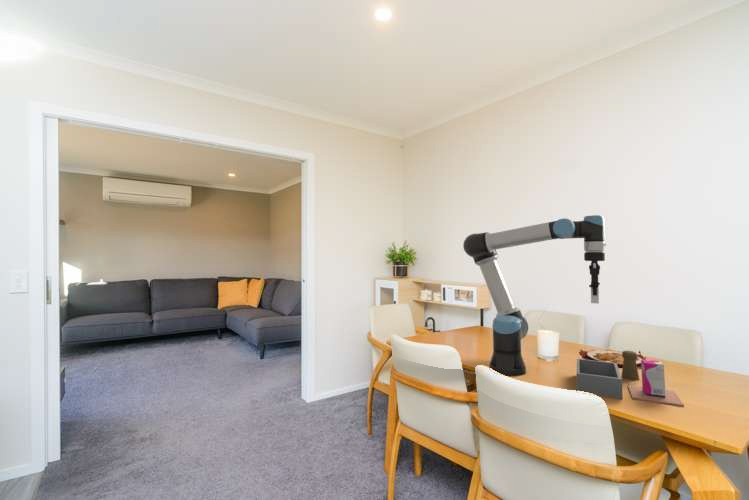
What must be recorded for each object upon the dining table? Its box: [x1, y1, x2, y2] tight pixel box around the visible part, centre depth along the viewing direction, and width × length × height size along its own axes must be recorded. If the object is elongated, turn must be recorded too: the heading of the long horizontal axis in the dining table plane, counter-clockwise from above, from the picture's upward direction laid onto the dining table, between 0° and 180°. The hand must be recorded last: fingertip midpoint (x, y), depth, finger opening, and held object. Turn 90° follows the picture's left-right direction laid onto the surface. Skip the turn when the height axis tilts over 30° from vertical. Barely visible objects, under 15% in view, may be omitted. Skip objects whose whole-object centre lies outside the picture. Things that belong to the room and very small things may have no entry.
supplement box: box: [641, 359, 666, 398], centre depth 129 cm, size 6×6×12 cm
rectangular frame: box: [575, 358, 623, 400], centre depth 139 cm, size 14×22×7 cm, turn 150°
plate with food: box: [579, 349, 647, 370], centre depth 172 cm, size 25×26×4 cm
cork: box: [621, 350, 640, 381], centre depth 147 cm, size 6×6×11 cm
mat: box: [627, 384, 685, 408], centre depth 128 cm, size 14×14×1 cm
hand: (594, 301), depth 152 cm, fingers open, 13 cm apart
